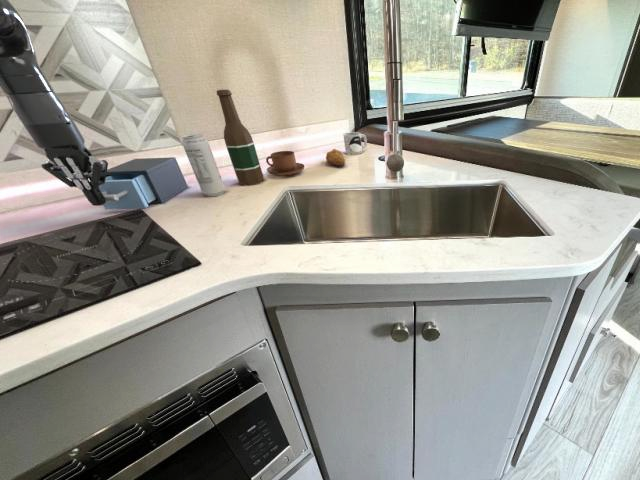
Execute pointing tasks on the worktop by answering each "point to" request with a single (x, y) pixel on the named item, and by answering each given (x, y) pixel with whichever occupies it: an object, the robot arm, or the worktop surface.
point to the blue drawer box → (155, 175)
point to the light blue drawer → (127, 191)
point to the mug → (354, 142)
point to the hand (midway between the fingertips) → (100, 204)
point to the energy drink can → (203, 164)
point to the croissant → (336, 158)
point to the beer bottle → (239, 143)
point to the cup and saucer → (283, 164)
